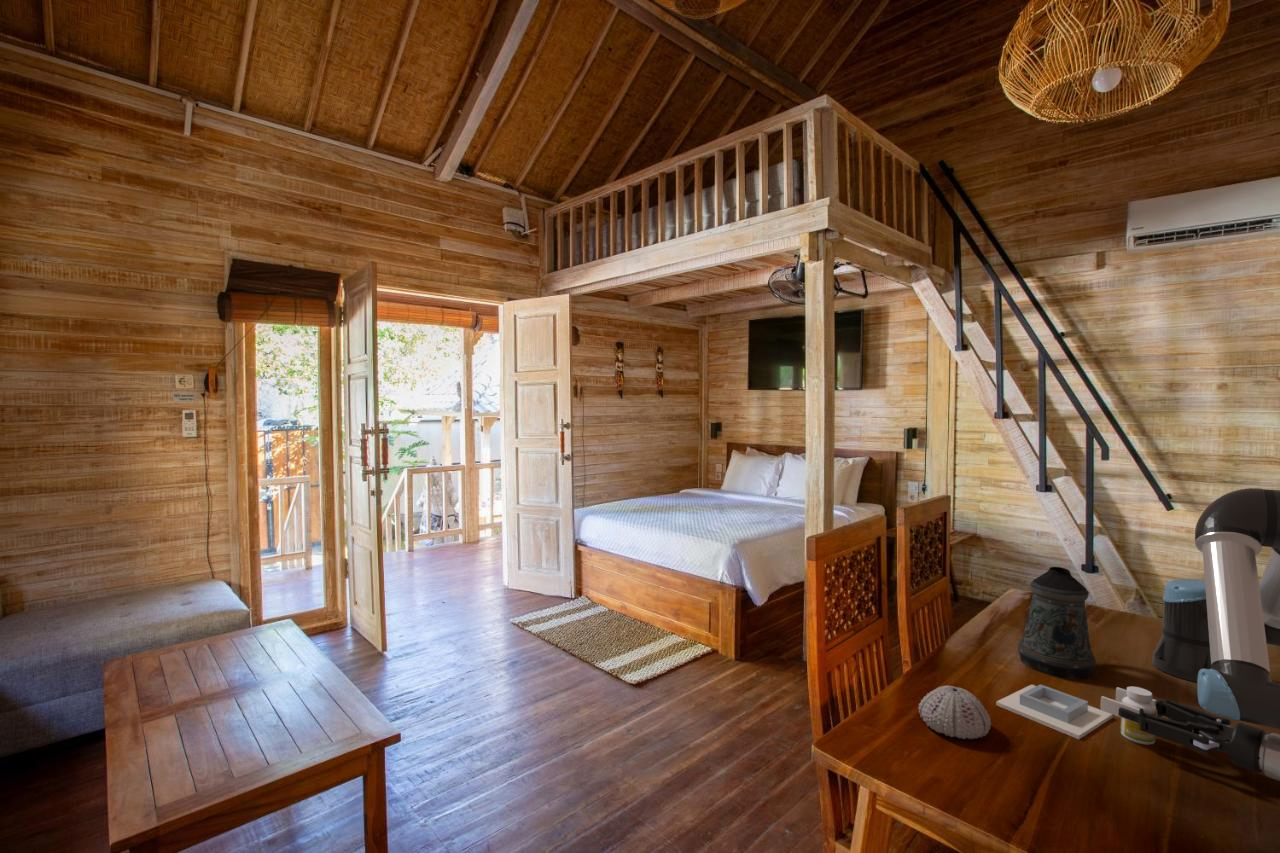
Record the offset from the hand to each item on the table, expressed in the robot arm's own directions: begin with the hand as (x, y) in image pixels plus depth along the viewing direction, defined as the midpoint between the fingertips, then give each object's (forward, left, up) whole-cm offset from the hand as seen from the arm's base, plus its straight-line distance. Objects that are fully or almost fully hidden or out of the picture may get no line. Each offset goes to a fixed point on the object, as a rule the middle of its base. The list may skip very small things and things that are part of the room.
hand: (1109, 698), depth 124 cm
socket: (+3, -9, -6) cm, 11 cm away
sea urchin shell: (+28, -17, -6) cm, 33 cm away
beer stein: (-25, -21, -6) cm, 33 cm away
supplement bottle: (0, +5, -6) cm, 8 cm away
